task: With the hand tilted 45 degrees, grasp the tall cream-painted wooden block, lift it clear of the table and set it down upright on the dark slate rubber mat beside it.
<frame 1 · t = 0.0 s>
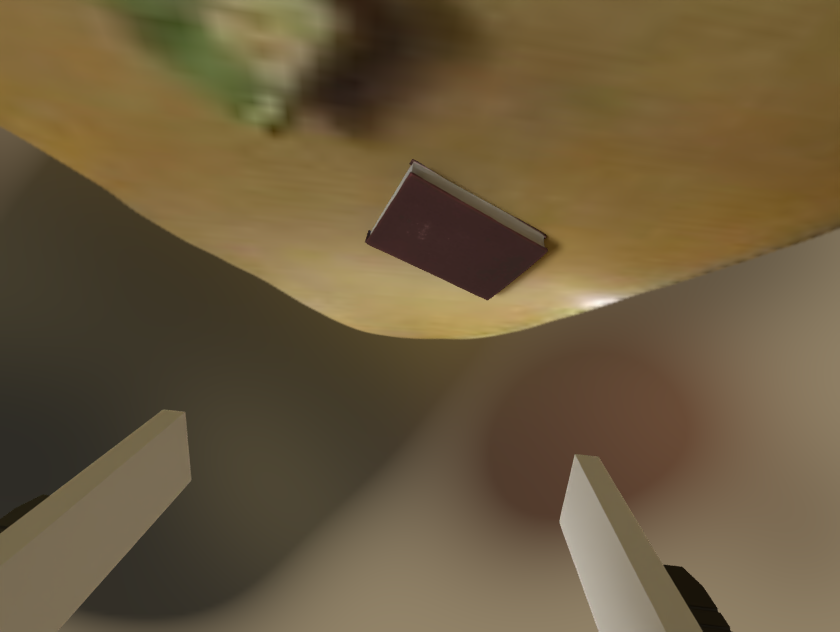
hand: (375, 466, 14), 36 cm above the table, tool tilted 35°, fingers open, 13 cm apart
book: (455, 230, 52), on the table
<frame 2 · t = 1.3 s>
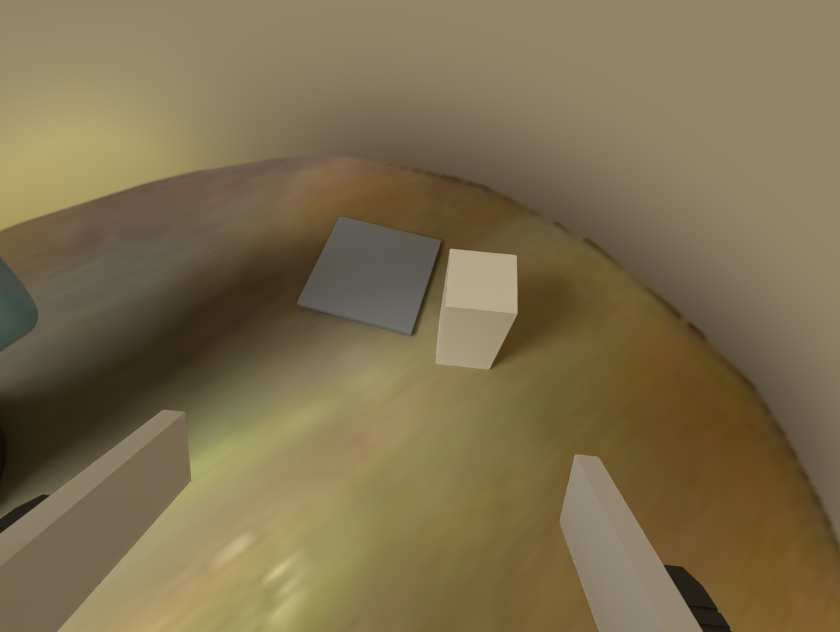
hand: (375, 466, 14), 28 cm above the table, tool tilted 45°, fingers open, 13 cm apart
slate mat: (372, 272, 51), on the table
cream block: (463, 342, 47), on the table
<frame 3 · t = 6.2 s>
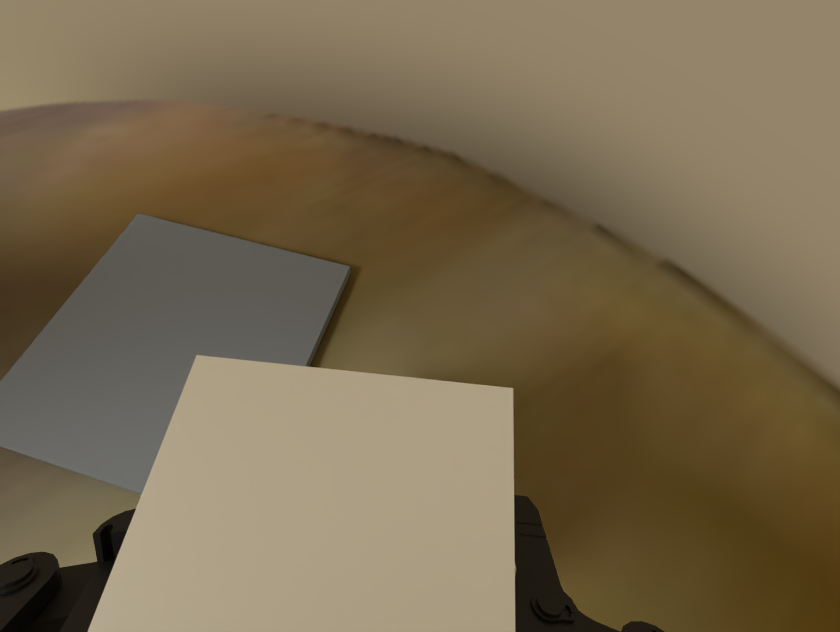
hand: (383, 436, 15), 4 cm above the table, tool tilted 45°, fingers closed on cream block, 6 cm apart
slate mat: (182, 344, 22), on the table
cream block: (376, 542, 18), on the table, touching gripper
when the fingers open (6 cm above the table, at t = 11.6 s): cream block stays where it is, resting on slate mat.
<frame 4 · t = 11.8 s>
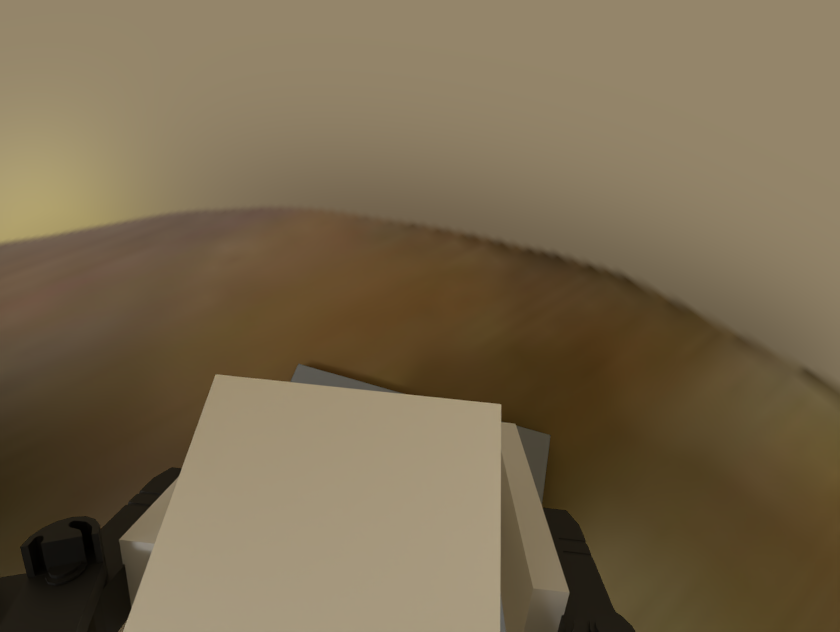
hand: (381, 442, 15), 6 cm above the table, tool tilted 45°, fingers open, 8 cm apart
slate mat: (379, 542, 19), on the table
cream block: (377, 543, 18), point 1 cm above the table, touching slate mat
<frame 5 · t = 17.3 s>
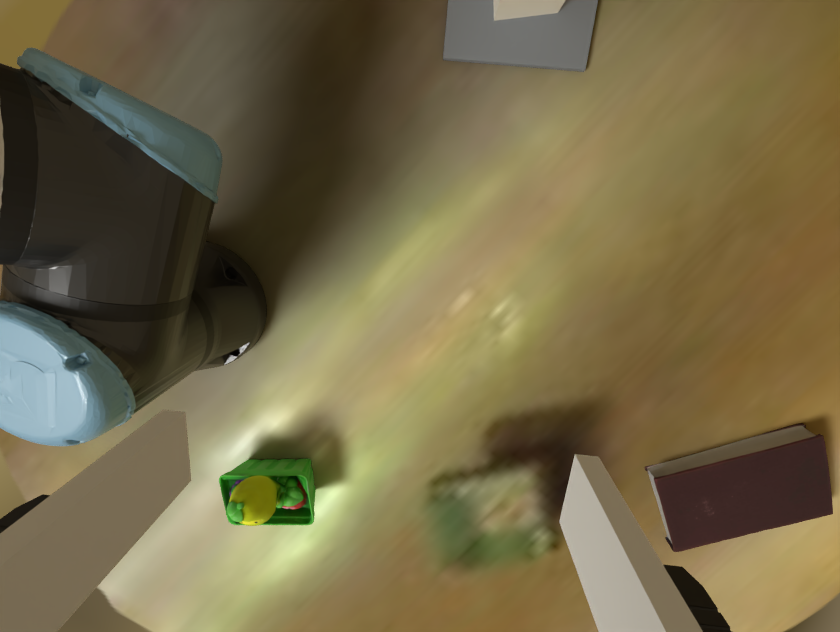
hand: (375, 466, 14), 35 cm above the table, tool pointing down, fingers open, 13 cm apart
fruit basket: (281, 469, 56), on the table
book: (727, 480, 53), on the table
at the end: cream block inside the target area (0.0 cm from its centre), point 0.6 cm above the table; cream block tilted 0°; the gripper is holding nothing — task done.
